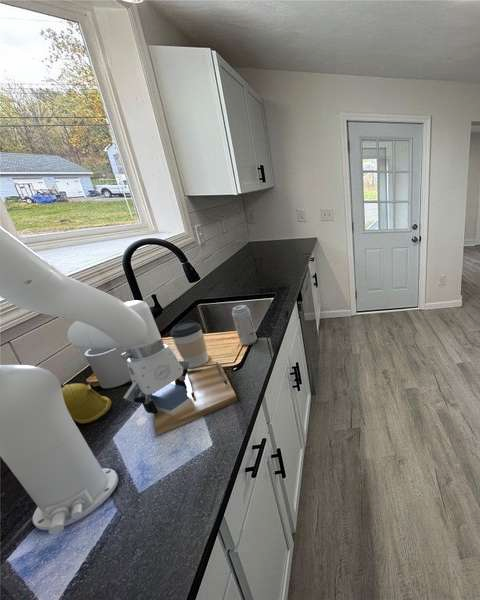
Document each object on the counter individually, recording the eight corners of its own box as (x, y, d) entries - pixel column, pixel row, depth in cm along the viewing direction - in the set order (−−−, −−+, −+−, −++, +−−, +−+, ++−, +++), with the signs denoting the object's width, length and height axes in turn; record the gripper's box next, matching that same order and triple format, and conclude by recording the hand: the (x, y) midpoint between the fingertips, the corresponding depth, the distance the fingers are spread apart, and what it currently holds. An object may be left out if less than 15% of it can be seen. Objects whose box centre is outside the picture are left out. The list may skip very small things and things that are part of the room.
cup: (98, 381, 104) (82, 350, 99) (132, 368, 110) (119, 338, 105) (103, 392, 98) (86, 359, 93) (138, 377, 104) (124, 346, 100)
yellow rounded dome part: (103, 428, 83) (77, 382, 77) (63, 439, 80) (34, 392, 74) (119, 402, 93) (97, 359, 87) (84, 411, 90) (59, 367, 84)
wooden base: (237, 401, 90) (234, 391, 89) (158, 435, 79) (153, 424, 78) (221, 368, 106) (219, 360, 105) (153, 393, 96) (149, 384, 94)
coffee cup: (202, 369, 107) (188, 330, 101) (176, 370, 107) (161, 331, 101) (217, 354, 115) (205, 318, 109) (193, 355, 115) (179, 319, 110)
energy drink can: (256, 344, 121) (247, 308, 115) (239, 347, 119) (229, 311, 114) (257, 337, 126) (248, 303, 121) (241, 340, 125) (231, 305, 119)
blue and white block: (192, 401, 88) (186, 386, 86) (173, 415, 83) (166, 400, 81) (166, 394, 92) (160, 379, 90) (146, 407, 87) (139, 391, 85)
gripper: (116, 369, 72) (144, 428, 78) (187, 333, 87) (206, 385, 93) (97, 364, 74) (126, 421, 81) (169, 330, 89) (188, 381, 96)
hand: (168, 401), depth 87 cm, fingers open, 7 cm apart
